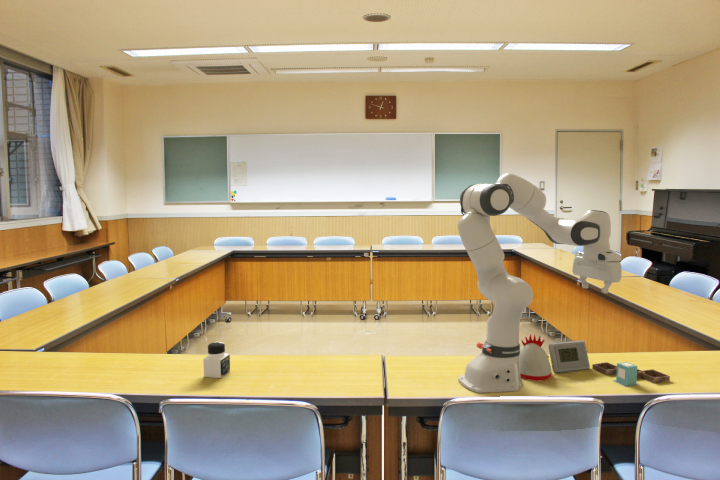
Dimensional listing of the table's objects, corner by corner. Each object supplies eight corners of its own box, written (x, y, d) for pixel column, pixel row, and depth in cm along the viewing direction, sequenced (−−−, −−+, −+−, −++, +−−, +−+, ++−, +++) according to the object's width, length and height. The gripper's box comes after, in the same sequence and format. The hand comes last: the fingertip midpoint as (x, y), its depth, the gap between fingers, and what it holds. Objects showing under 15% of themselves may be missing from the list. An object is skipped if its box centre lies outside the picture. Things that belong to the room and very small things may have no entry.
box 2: (630, 380, 168) (630, 374, 168) (614, 373, 175) (614, 367, 175) (645, 378, 170) (645, 372, 170) (628, 371, 177) (629, 365, 177)
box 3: (654, 384, 165) (654, 378, 164) (637, 377, 171) (637, 371, 171) (669, 382, 167) (669, 376, 166) (652, 375, 173) (652, 369, 173)
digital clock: (552, 374, 174) (553, 346, 174) (542, 365, 183) (543, 339, 182) (595, 373, 175) (596, 345, 174) (582, 364, 184) (583, 338, 183)
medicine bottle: (221, 378, 171) (220, 346, 170) (203, 377, 173) (202, 345, 172) (230, 371, 178) (229, 340, 177) (213, 370, 180) (212, 339, 179)
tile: (626, 388, 162) (626, 387, 161) (612, 381, 167) (612, 380, 167) (639, 385, 163) (639, 384, 163) (625, 379, 169) (625, 378, 169)
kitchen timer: (552, 382, 167) (553, 341, 165) (511, 378, 171) (512, 338, 170) (550, 369, 180) (551, 331, 178) (512, 365, 184) (513, 328, 183)
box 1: (606, 376, 172) (607, 370, 172) (592, 369, 179) (592, 364, 179) (621, 374, 174) (622, 368, 174) (606, 367, 181) (607, 362, 181)
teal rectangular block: (626, 385, 163) (627, 367, 162) (615, 380, 167) (616, 363, 166) (636, 384, 164) (637, 365, 163) (625, 379, 168) (626, 361, 168)
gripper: (568, 251, 182) (567, 286, 183) (611, 257, 163) (609, 296, 164) (582, 250, 184) (580, 285, 185) (625, 256, 165) (623, 295, 166)
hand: (594, 290), depth 175 cm, fingers open, 8 cm apart
